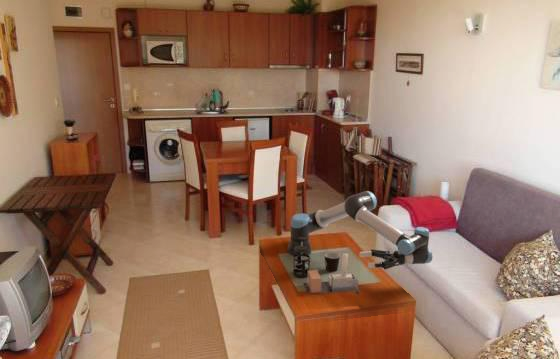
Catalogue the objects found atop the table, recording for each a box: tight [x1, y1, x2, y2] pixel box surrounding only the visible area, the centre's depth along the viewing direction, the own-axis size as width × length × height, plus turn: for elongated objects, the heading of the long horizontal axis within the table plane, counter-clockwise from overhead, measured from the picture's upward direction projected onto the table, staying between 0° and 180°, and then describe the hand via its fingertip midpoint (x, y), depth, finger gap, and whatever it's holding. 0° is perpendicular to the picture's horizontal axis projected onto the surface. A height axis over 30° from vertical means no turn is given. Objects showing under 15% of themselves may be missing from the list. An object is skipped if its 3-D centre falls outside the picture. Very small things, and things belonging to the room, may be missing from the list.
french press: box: [292, 237, 311, 279], centre depth 247 cm, size 12×9×23 cm
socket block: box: [306, 269, 322, 293], centre depth 232 cm, size 10×5×8 cm, turn 9°
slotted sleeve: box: [302, 273, 360, 295], centre depth 234 cm, size 12×27×6 cm, turn 99°
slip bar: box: [327, 252, 353, 286], centre depth 233 cm, size 4×12×16 cm, turn 99°
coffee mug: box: [324, 252, 341, 273], centre depth 256 cm, size 12×9×10 cm
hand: (363, 259), depth 234 cm, fingers open, 13 cm apart
